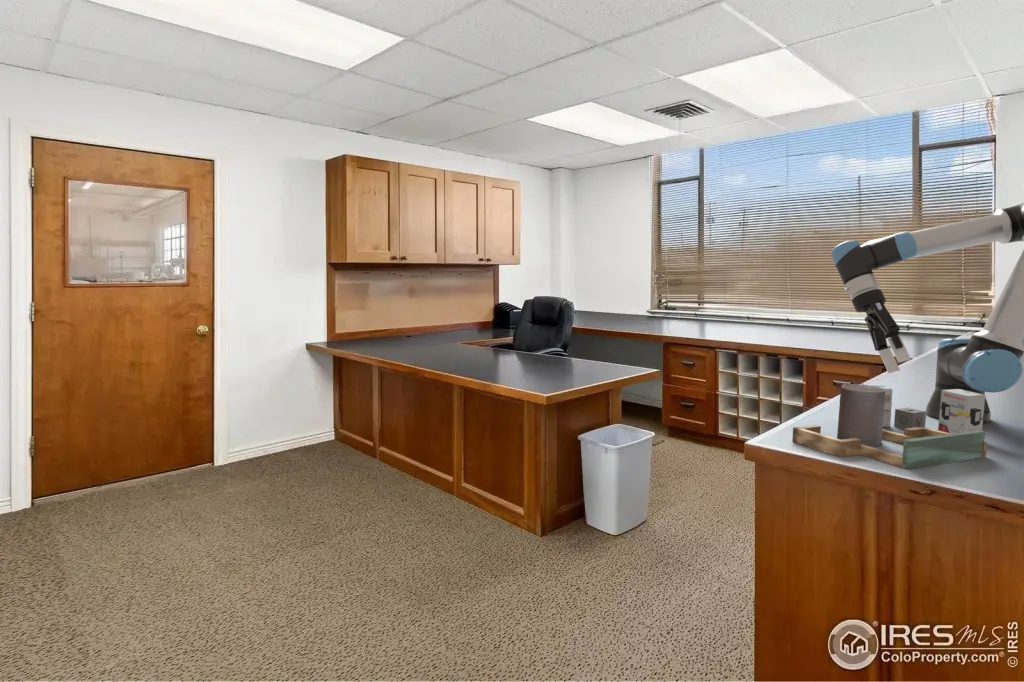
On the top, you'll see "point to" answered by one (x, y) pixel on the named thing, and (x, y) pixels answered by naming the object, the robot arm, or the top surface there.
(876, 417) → the pillar candle
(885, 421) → the light bulb box
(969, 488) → the top surface
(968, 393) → the ink box
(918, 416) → the grey cube block
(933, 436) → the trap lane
